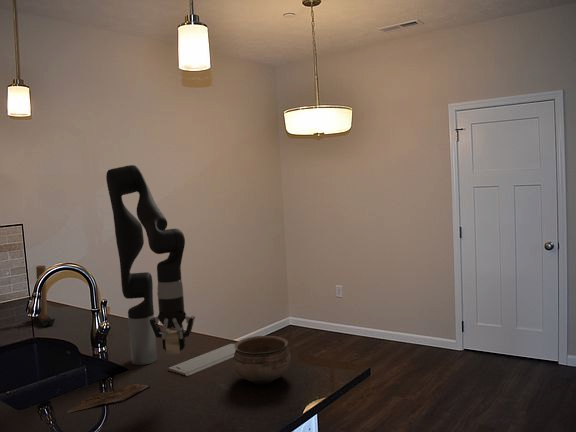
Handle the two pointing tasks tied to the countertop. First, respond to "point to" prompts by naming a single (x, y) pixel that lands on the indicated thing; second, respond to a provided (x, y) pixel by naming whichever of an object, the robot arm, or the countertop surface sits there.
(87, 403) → the wooden fragment
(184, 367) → the baseboard molding
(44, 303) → the hammer
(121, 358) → the countertop surface
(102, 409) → the countertop surface
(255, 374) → the cooking pot
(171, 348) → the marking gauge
